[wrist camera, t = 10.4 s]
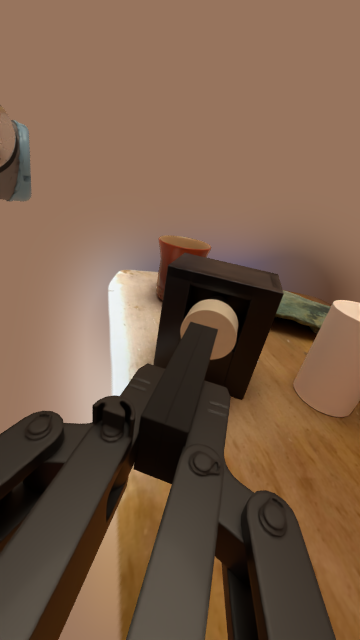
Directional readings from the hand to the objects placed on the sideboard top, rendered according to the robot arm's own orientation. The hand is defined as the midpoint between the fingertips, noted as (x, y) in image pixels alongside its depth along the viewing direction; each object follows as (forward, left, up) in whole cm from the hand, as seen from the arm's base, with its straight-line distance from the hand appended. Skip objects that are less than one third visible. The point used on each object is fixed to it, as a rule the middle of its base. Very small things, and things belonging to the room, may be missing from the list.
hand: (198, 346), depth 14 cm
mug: (-9, +31, -11) cm, 34 cm away
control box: (0, +12, -11) cm, 16 cm away
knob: (0, +10, -5) cm, 11 cm away
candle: (+14, +14, -11) cm, 23 cm away
